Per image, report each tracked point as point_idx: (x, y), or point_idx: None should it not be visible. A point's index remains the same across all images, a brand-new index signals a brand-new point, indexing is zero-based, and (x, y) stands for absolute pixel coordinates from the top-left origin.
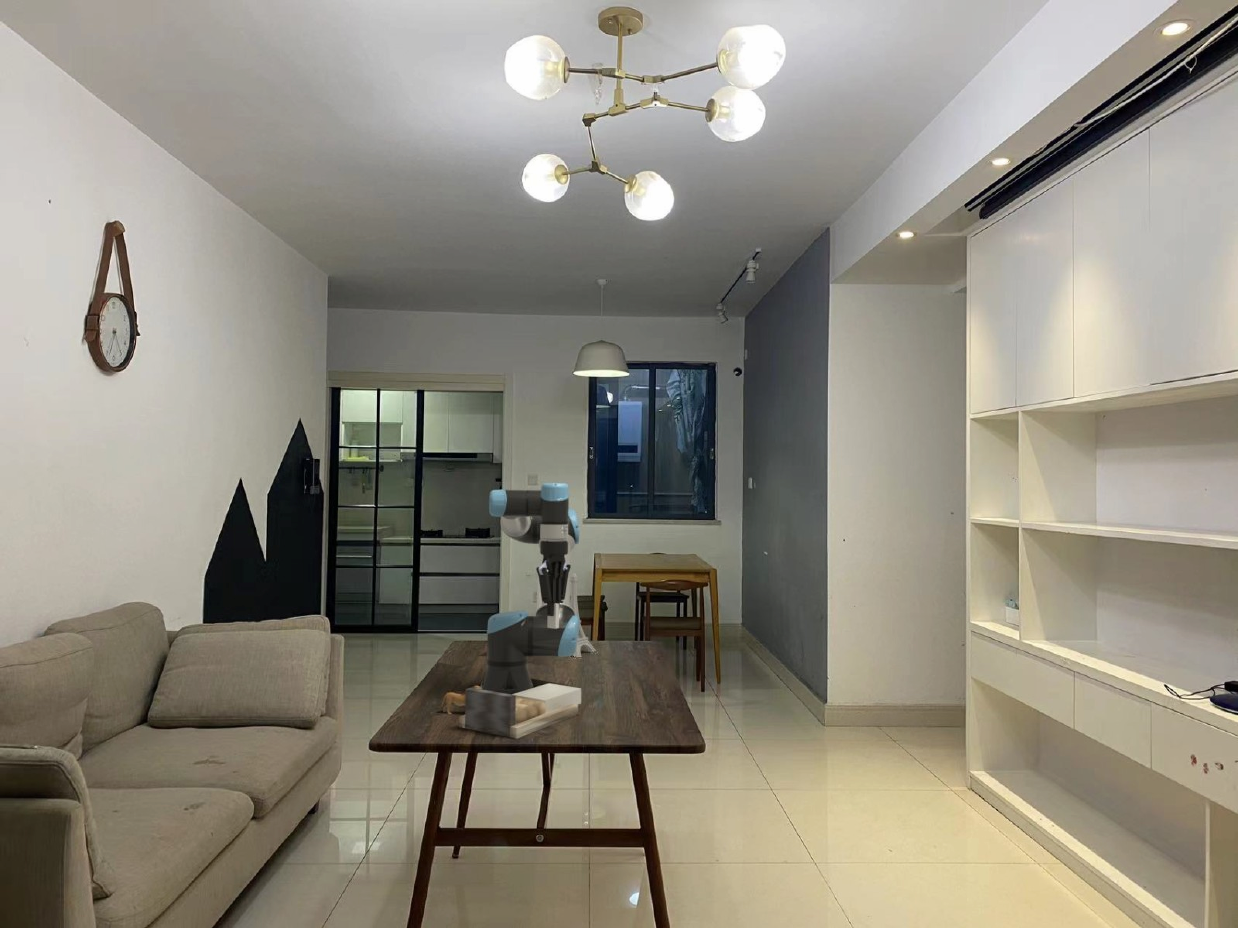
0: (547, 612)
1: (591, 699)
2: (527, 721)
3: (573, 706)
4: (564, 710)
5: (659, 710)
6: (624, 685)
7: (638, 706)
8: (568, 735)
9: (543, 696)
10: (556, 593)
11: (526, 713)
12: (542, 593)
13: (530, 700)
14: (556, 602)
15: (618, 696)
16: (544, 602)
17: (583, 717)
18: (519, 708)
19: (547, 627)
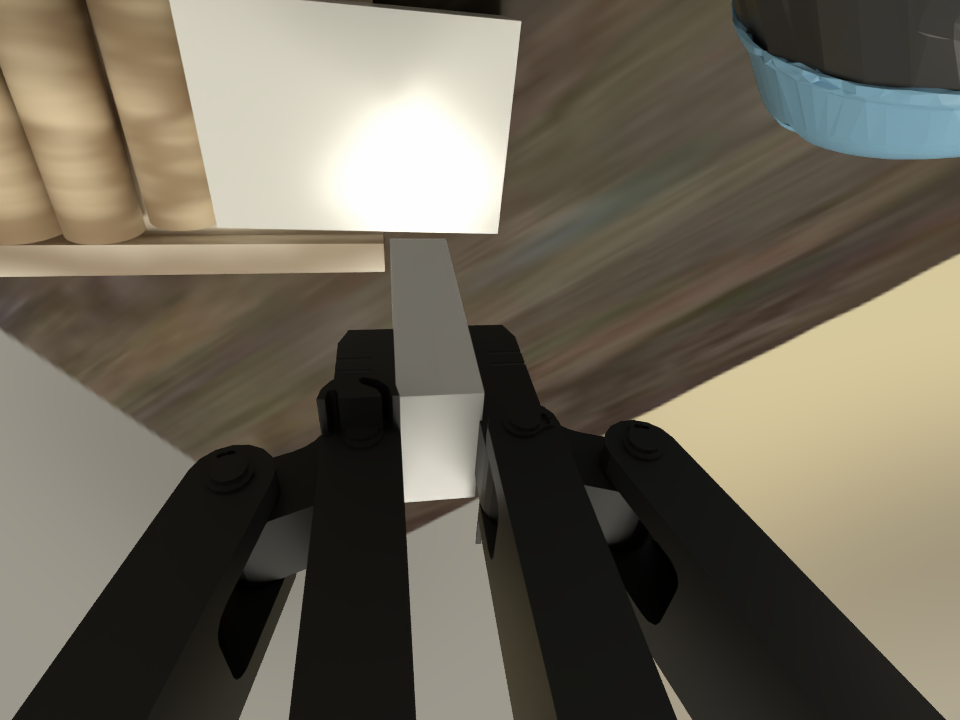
0: (336, 360)
1: (614, 171)
2: (38, 256)
3: (354, 269)
4: (286, 272)
5: (563, 409)
6: (874, 159)
7: (582, 348)
8: (160, 363)
9: (265, 177)
10: (499, 602)
11: (52, 235)
12: (109, 627)
13: (159, 170)
14: (475, 480)
15: (691, 233)
16: (329, 398)
17: (367, 288)
18: (46, 185)
19: (390, 239)
